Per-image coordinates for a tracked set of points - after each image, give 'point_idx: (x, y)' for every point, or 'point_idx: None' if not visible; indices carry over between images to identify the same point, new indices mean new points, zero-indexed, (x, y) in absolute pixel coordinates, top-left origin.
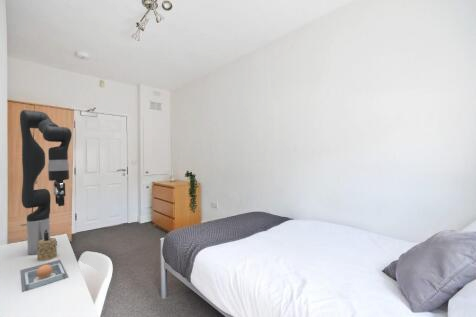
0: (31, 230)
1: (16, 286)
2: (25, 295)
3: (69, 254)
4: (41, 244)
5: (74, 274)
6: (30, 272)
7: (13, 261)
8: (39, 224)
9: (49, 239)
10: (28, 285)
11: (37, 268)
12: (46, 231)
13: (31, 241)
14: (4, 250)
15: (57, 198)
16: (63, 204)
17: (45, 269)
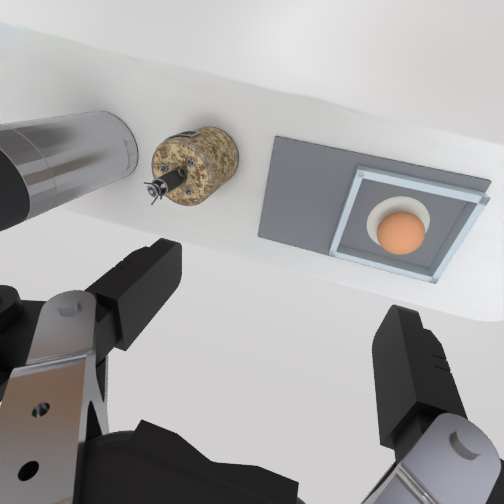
0: (64, 200)
1: (360, 270)
2: (449, 279)
3: (234, 84)
4: (206, 198)
5: (474, 153)
6: (338, 244)
7: (156, 218)
8: (46, 183)
9: (175, 163)
10: (437, 278)
11: (290, 208)
12: (161, 188)
13: (100, 186)
14: None
15: (147, 311)
16: (429, 331)
17: (421, 242)
